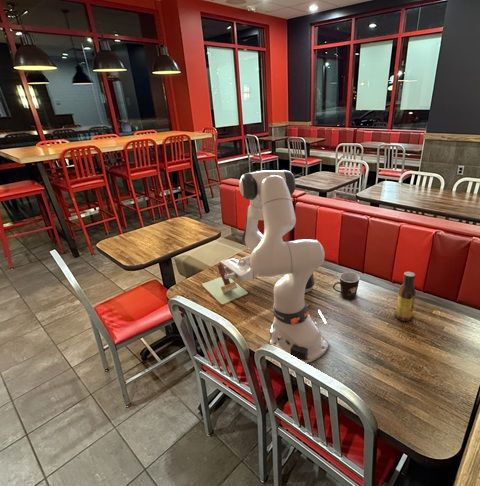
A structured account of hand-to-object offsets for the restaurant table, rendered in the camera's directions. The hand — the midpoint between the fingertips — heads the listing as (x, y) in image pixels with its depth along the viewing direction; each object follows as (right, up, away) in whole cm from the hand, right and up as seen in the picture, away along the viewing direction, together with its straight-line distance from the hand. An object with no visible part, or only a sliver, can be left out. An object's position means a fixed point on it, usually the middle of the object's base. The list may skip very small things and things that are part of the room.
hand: (221, 274), depth 144 cm
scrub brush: (+4, -7, 0) cm, 8 cm away
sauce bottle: (+77, -15, -18) cm, 81 cm away
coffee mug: (+57, -9, -4) cm, 58 cm away
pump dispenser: (+38, -7, +2) cm, 39 cm away
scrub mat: (0, -8, +6) cm, 10 cm away
